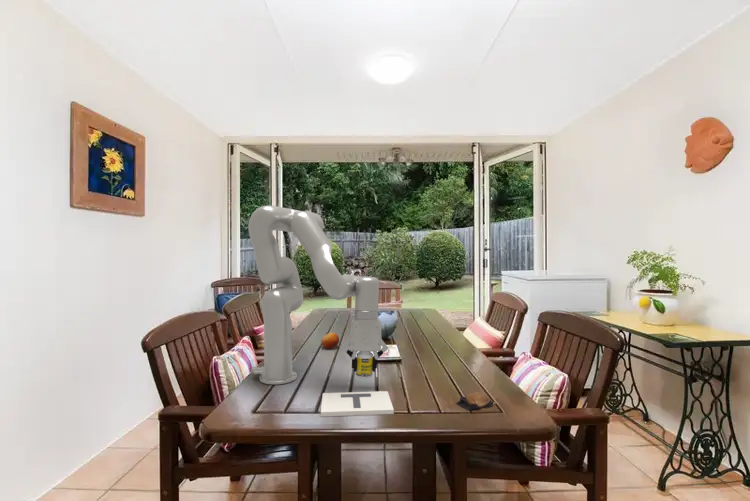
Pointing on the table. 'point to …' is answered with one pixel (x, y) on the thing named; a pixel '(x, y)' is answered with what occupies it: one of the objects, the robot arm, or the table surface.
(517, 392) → the table surface
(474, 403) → the cookie on black wrapper
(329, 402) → the board
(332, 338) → the fruit
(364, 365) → the supplement bottle
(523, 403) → the table surface
